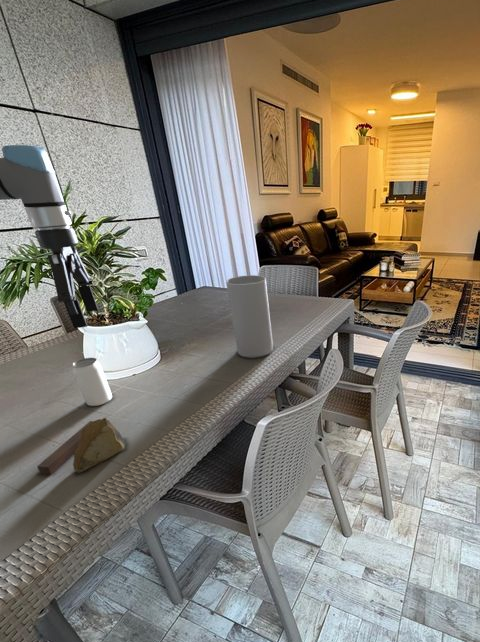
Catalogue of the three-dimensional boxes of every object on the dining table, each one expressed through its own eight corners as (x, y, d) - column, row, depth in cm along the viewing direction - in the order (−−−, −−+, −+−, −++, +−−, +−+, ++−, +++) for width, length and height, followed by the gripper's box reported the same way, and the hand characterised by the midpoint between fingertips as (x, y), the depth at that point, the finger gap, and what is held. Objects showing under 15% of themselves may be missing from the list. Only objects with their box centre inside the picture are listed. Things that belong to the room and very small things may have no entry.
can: (98, 393, 102) (83, 356, 96) (118, 395, 101) (104, 357, 95) (81, 405, 96) (64, 366, 91) (101, 407, 95) (85, 368, 89)
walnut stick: (51, 474, 73) (47, 467, 72) (40, 473, 73) (36, 466, 73) (102, 427, 87) (99, 421, 86) (92, 427, 87) (90, 420, 86)
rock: (66, 476, 69) (120, 454, 72) (50, 436, 69) (104, 416, 73) (86, 472, 79) (132, 452, 83) (72, 437, 80) (118, 419, 83)
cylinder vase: (230, 355, 122) (217, 282, 110) (251, 342, 132) (242, 274, 120) (260, 361, 117) (250, 286, 105) (279, 346, 127) (273, 276, 115)
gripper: (56, 232, 70) (93, 332, 80) (84, 222, 90) (111, 303, 101) (12, 235, 68) (55, 337, 78) (51, 224, 88) (81, 306, 98)
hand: (87, 318), depth 89 cm, fingers open, 13 cm apart
